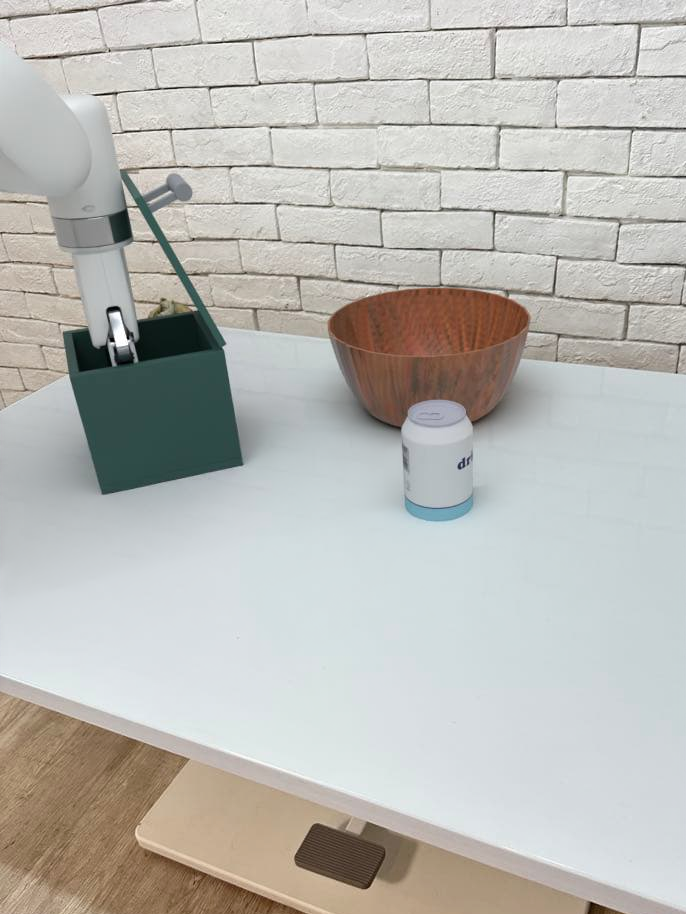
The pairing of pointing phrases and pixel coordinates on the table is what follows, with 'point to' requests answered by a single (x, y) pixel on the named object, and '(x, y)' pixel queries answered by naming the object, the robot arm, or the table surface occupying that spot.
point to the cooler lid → (183, 194)
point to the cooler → (155, 404)
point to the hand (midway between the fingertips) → (129, 389)
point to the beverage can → (437, 461)
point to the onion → (168, 308)
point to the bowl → (429, 349)
